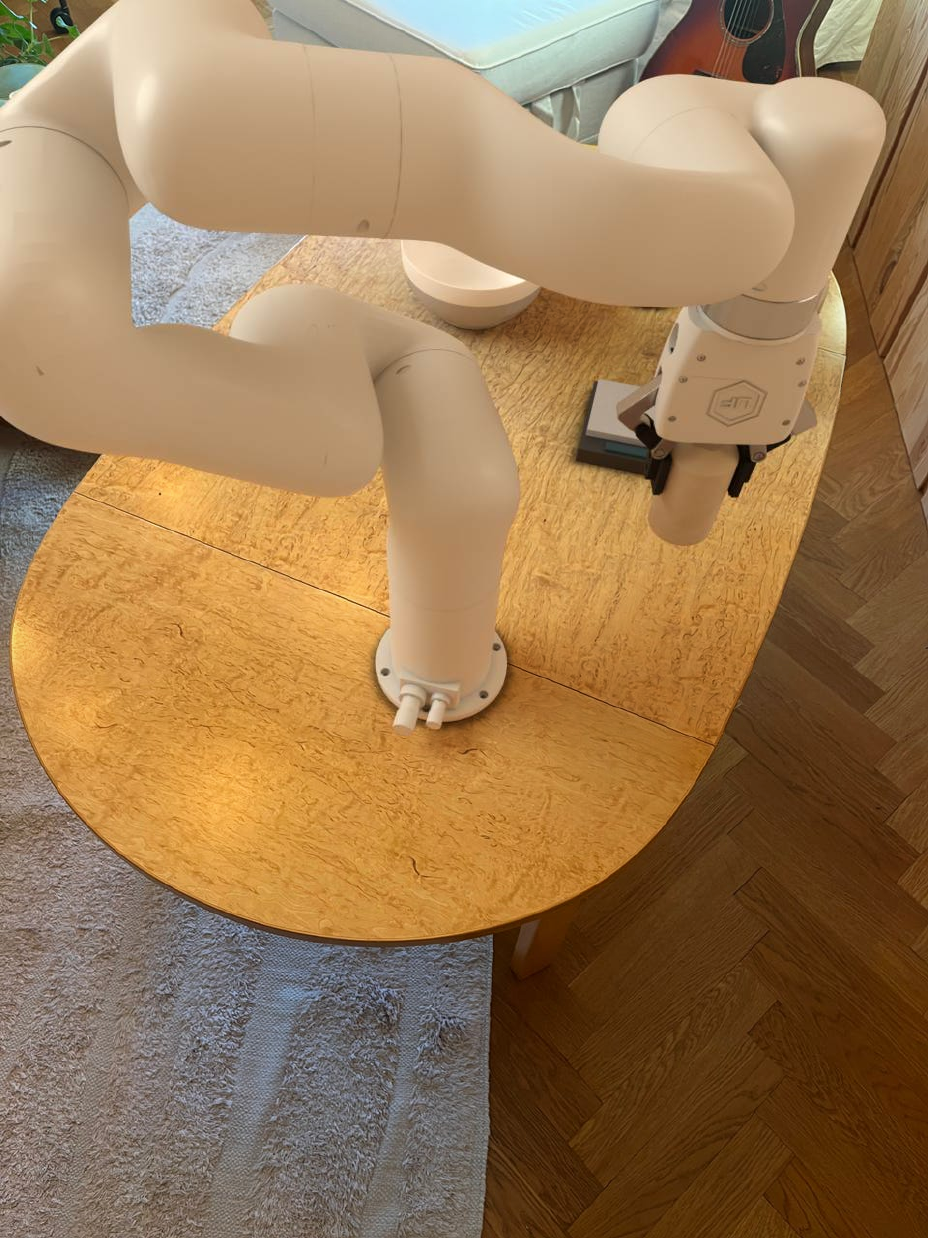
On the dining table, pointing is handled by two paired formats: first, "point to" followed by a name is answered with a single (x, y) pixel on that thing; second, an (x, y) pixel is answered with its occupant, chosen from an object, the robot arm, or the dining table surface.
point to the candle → (693, 492)
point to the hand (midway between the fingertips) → (693, 482)
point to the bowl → (463, 286)
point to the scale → (610, 430)
